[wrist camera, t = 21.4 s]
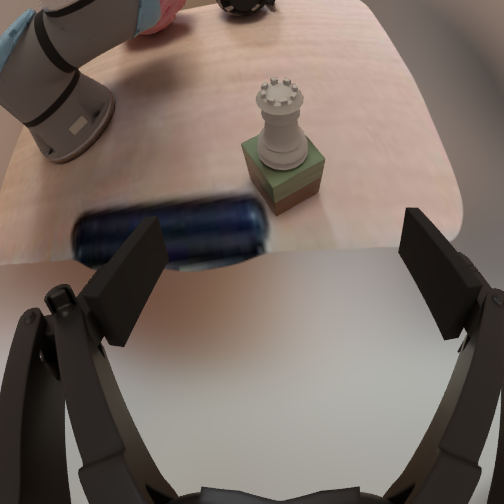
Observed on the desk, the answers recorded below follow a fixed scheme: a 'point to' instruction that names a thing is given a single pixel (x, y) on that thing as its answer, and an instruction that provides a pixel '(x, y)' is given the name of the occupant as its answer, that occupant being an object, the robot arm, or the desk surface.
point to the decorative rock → (166, 14)
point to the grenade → (243, 6)
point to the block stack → (284, 177)
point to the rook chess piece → (281, 125)
